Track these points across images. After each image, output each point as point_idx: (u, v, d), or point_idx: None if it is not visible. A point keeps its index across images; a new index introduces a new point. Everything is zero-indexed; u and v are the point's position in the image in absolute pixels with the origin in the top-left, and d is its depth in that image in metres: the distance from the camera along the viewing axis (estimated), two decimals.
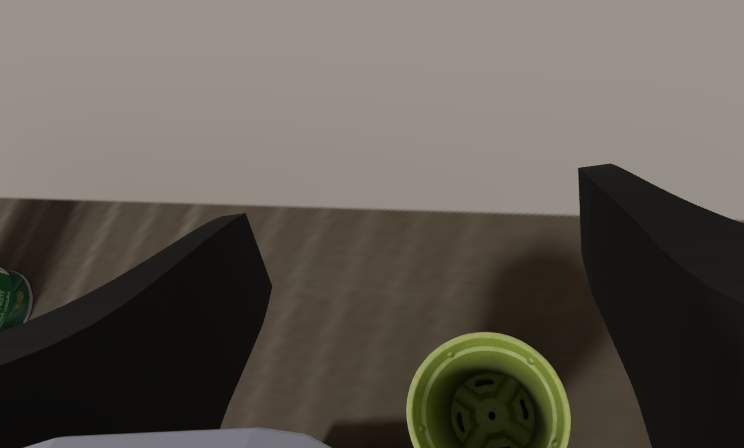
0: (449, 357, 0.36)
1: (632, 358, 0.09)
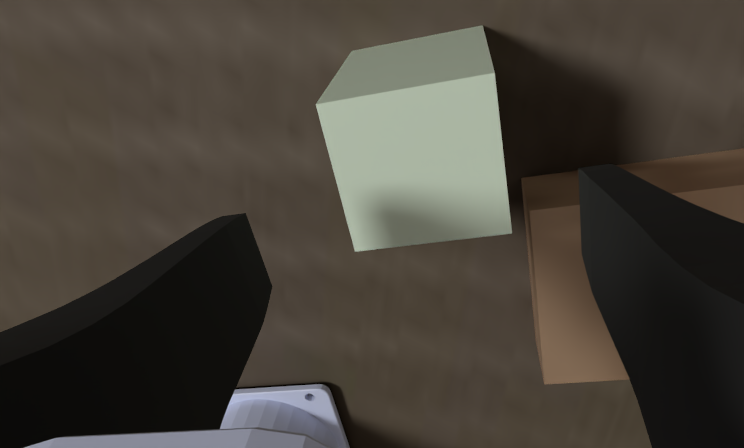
0: None
1: (632, 358, 0.09)
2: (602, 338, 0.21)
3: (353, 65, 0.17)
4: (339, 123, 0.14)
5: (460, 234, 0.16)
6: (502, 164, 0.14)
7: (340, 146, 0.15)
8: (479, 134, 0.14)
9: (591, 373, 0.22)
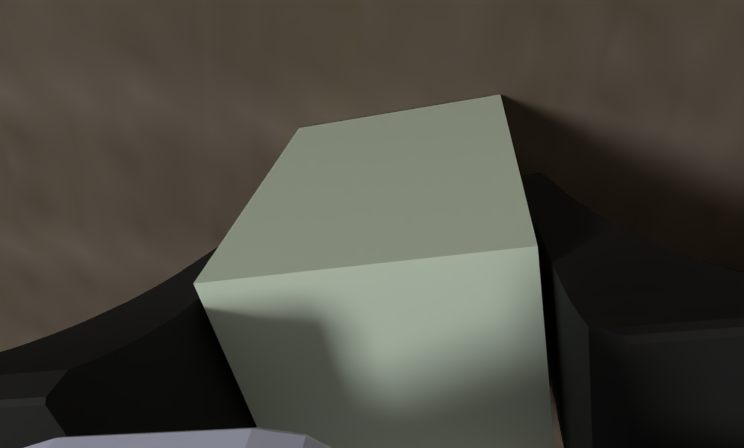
0: None
1: (550, 363, 0.09)
2: None
3: (290, 168, 0.10)
4: (240, 314, 0.08)
5: None
6: (545, 391, 0.08)
7: (246, 349, 0.08)
8: (504, 344, 0.07)
9: None
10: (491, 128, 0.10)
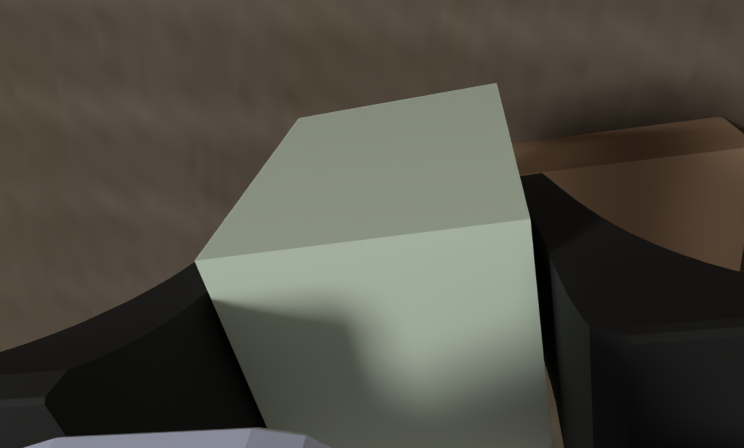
0: None
1: (550, 363, 0.09)
2: None
3: (289, 154, 0.11)
4: (241, 292, 0.08)
5: None
6: (540, 366, 0.08)
7: (247, 326, 0.08)
8: (499, 319, 0.07)
9: None
10: (487, 114, 0.10)
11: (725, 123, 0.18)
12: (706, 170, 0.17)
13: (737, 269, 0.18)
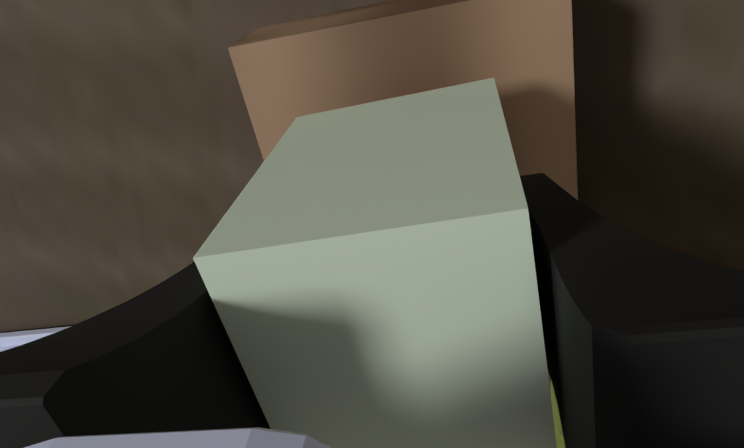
0: None
1: (551, 363, 0.09)
2: None
3: (288, 152, 0.11)
4: (240, 287, 0.08)
5: None
6: (542, 357, 0.08)
7: (246, 324, 0.08)
8: (500, 311, 0.07)
9: None
10: (484, 107, 0.10)
11: None
12: (508, 22, 0.12)
13: (573, 169, 0.14)
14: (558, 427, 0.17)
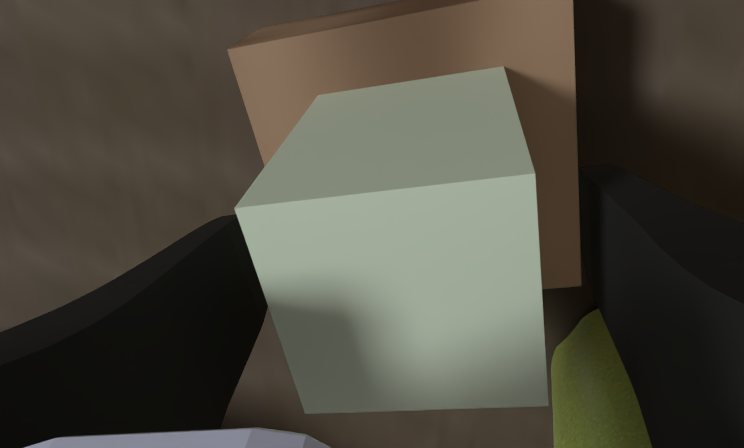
0: None
1: (632, 358, 0.09)
2: None
3: (312, 125, 0.12)
4: (274, 237, 0.09)
5: (466, 401, 0.10)
6: (539, 310, 0.09)
7: (277, 271, 0.09)
8: (504, 266, 0.08)
9: None
10: (495, 91, 0.11)
11: None
12: (508, 24, 0.12)
13: (574, 171, 0.14)
14: (559, 431, 0.17)
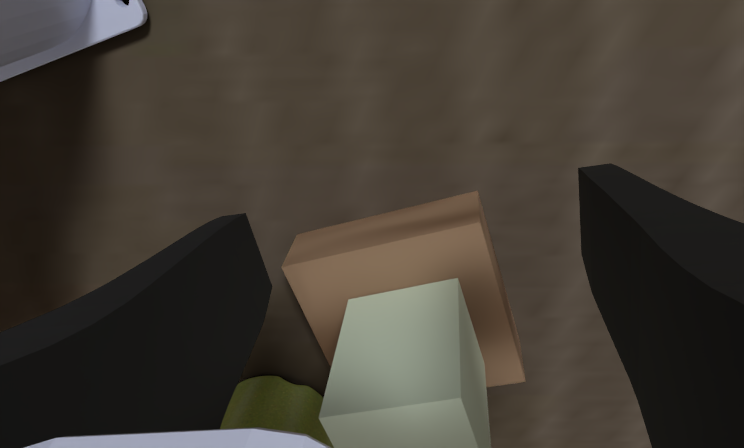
0: None
1: (632, 358, 0.09)
2: None
3: (462, 327, 0.19)
4: (445, 412, 0.16)
5: None
6: None
7: (423, 412, 0.17)
8: None
9: (308, 300, 0.23)
10: (485, 392, 0.21)
11: (520, 347, 0.25)
12: (503, 360, 0.23)
13: None
14: None
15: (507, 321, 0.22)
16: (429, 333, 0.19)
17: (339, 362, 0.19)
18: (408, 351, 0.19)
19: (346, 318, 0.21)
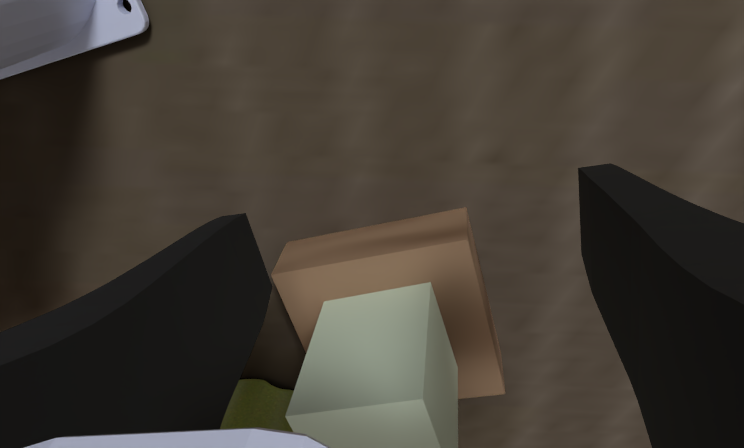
0: None
1: (632, 358, 0.09)
2: None
3: (431, 330, 0.20)
4: (408, 413, 0.17)
5: None
6: None
7: (387, 412, 0.17)
8: None
9: (296, 308, 0.23)
10: (456, 396, 0.22)
11: (501, 359, 0.26)
12: (485, 372, 0.24)
13: None
14: None
15: (490, 335, 0.23)
16: (398, 335, 0.19)
17: (309, 362, 0.20)
18: (377, 353, 0.19)
19: (320, 320, 0.22)
